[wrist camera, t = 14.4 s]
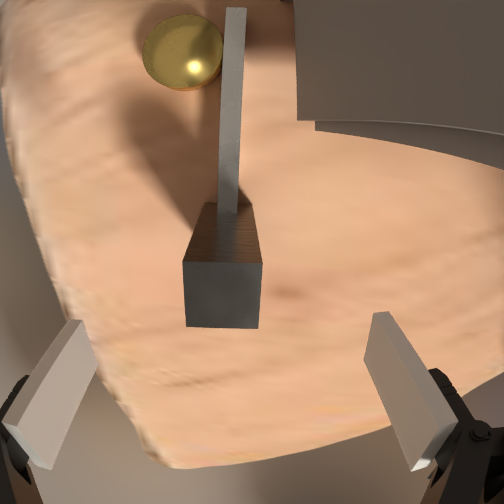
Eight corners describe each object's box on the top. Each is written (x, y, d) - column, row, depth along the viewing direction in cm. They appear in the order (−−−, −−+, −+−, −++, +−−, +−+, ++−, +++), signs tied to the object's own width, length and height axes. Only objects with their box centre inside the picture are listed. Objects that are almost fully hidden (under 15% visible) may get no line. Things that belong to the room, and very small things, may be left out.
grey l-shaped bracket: (249, 248, 29) (258, 328, 18) (204, 246, 29) (186, 326, 17) (261, 20, 21) (278, -47, 10) (212, 18, 21) (194, -49, 10)
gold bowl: (220, 93, 24) (217, 89, 21) (148, 90, 23) (137, 87, 20) (229, 27, 21) (228, 16, 19) (157, 25, 21) (148, 15, 18)
